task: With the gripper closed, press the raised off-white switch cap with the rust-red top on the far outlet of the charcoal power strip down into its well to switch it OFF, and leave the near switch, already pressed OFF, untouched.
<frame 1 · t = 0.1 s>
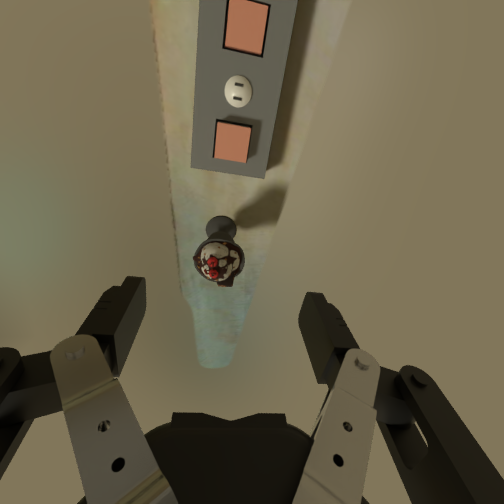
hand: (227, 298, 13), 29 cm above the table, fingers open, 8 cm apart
power strip: (239, 70, 32), on the table
sundae: (220, 229, 43), on the table
switch 2: (232, 142, 32), point 4 cm above the table, slide at 0.0 cm
switch 1: (245, 29, 28), point 3 cm above the table, slide at 1.5 cm
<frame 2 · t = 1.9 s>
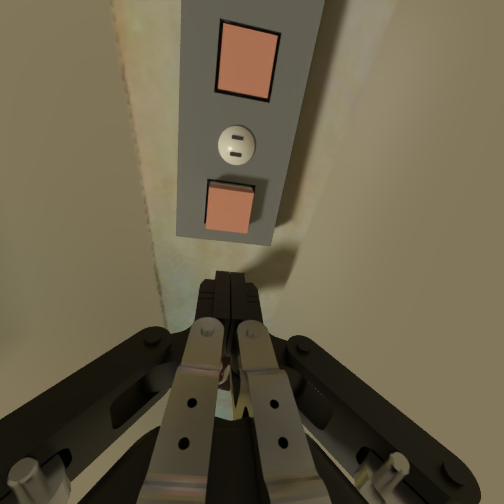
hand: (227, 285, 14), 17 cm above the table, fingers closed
power strip: (238, 113, 24), on the table
sundae: (216, 293, 35), on the table
switch 2: (229, 207, 25), point 4 cm above the table, slide at 0.0 cm
switch 1: (245, 65, 21), point 3 cm above the table, slide at 1.5 cm
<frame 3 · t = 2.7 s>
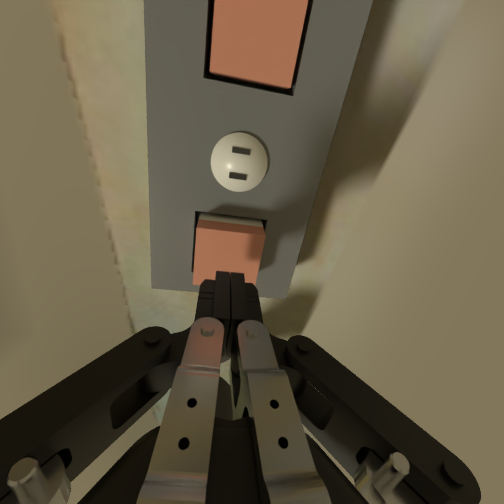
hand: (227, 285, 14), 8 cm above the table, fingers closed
power strip: (242, 112, 16), on the table
sundae: (211, 345, 27), on the table
switch 2: (227, 251, 17), point 4 cm above the table, slide at 0.0 cm
switch 1: (255, 33, 13), point 3 cm above the table, slide at 1.5 cm
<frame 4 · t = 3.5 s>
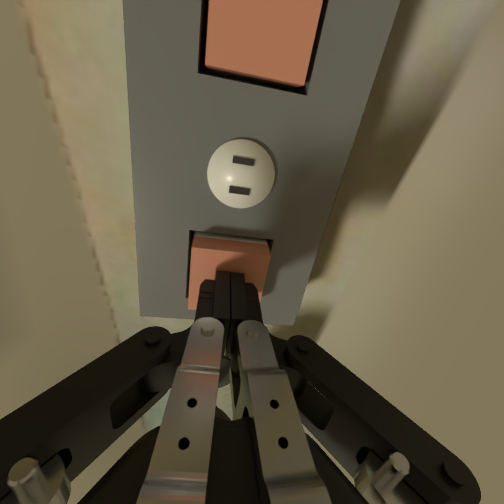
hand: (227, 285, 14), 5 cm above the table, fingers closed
power strip: (244, 115, 14), on the table
sundae: (210, 369, 25), on the table
switch 2: (227, 270, 15), point 4 cm above the table, slide at 0.5 cm, touching gripper
switch 1: (261, 19, 10), point 3 cm above the table, slide at 1.5 cm
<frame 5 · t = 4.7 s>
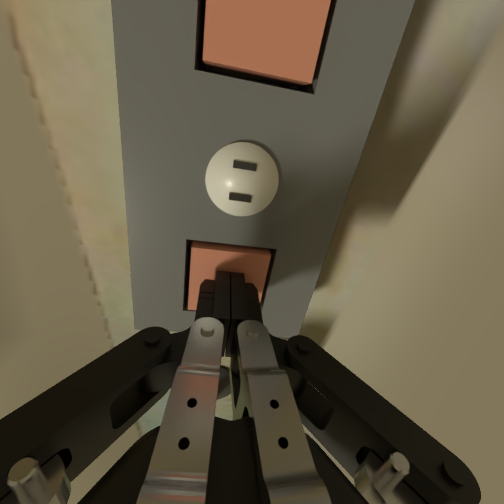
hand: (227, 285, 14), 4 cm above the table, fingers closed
power strip: (246, 115, 13), on the table
sundae: (209, 380, 24), on the table
switch 2: (227, 271, 15), point 2 cm above the table, slide at 1.6 cm, touching gripper
switch 1: (264, 10, 9), point 3 cm above the table, slide at 1.5 cm
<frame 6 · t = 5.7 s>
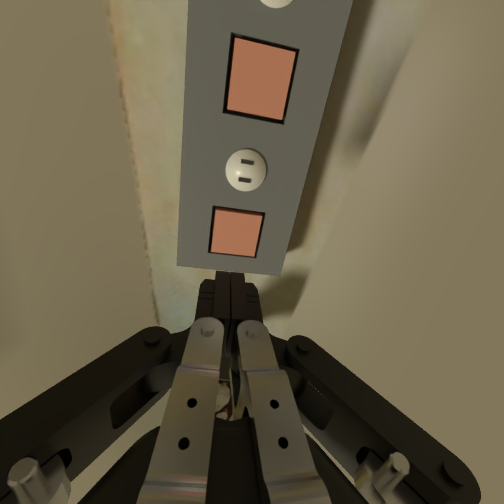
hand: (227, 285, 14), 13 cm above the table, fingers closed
power strip: (247, 133, 22), on the table
sundae: (219, 321, 32), on the table
switch 2: (235, 228, 24), point 2 cm above the table, slide at 1.6 cm
switch 1: (258, 83, 18), point 3 cm above the table, slide at 1.5 cm
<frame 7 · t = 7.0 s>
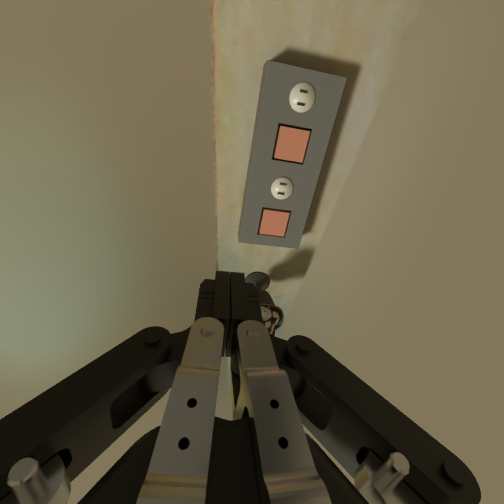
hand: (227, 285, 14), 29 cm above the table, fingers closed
power strip: (281, 166, 39), on the table
sundae: (256, 281, 50), on the table
switch 2: (273, 220, 41), point 2 cm above the table, slide at 1.6 cm
switch 1: (290, 143, 35), point 3 cm above the table, slide at 1.5 cm
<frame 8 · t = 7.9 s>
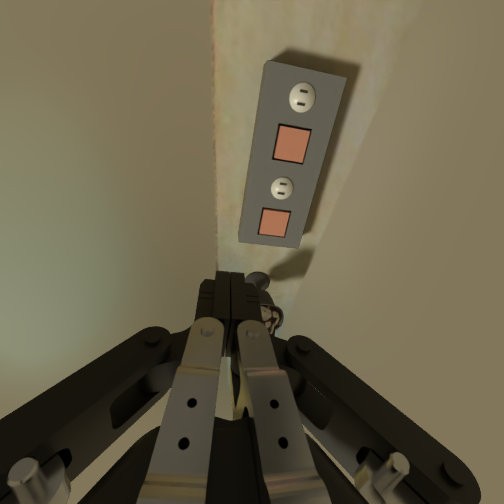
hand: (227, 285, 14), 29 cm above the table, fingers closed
power strip: (281, 166, 39), on the table
sundae: (256, 281, 50), on the table
switch 2: (273, 220, 41), point 2 cm above the table, slide at 1.6 cm
switch 1: (290, 143, 35), point 3 cm above the table, slide at 1.5 cm
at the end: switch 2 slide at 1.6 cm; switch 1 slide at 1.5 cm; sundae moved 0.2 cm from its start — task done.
